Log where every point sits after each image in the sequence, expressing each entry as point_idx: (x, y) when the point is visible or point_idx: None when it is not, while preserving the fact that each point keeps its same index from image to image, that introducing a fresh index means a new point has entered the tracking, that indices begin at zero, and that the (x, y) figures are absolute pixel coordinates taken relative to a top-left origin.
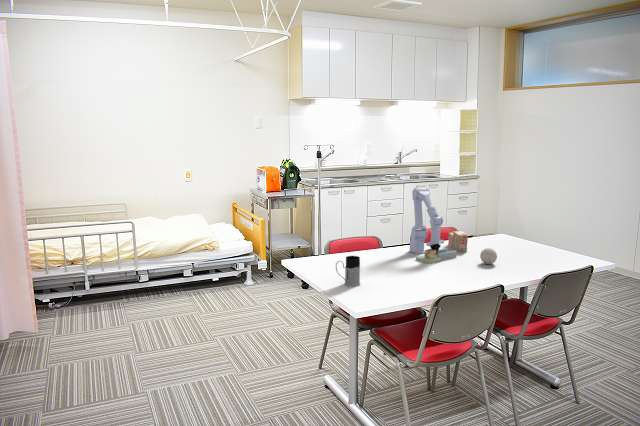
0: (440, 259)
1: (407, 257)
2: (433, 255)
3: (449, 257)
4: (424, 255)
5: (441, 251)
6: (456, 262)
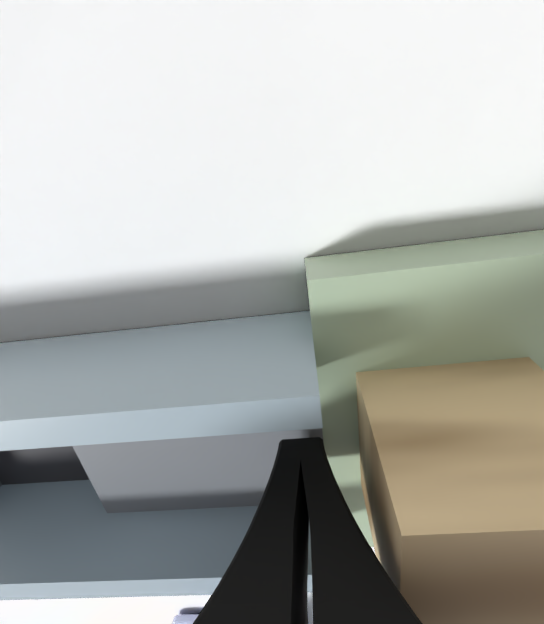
0: (322, 272)
1: None
2: (465, 409)
3: (15, 351)
4: None
5: (48, 547)
6: (7, 53)
